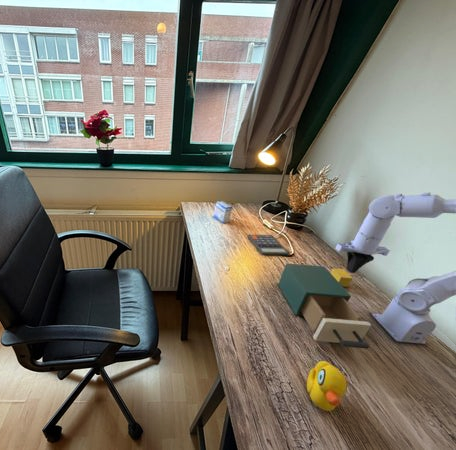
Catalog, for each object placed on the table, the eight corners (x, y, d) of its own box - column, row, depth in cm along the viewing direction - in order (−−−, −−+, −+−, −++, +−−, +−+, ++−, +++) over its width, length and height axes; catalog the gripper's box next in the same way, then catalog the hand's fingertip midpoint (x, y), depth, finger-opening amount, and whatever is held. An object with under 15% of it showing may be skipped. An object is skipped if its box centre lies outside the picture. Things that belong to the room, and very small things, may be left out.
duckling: (335, 434, 47) (358, 406, 43) (304, 418, 49) (322, 390, 45) (330, 382, 56) (349, 354, 52) (304, 370, 58) (319, 342, 54)
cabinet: (338, 318, 73) (351, 296, 69) (295, 315, 73) (306, 292, 69) (314, 287, 85) (324, 266, 81) (278, 284, 85) (286, 263, 81)
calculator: (272, 234, 115) (289, 253, 102) (271, 236, 115) (288, 254, 102) (248, 234, 114) (262, 252, 101) (247, 235, 114) (261, 254, 101)
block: (348, 286, 86) (352, 278, 85) (336, 286, 87) (341, 277, 85) (339, 277, 91) (343, 269, 89) (328, 276, 91) (332, 268, 89)
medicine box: (213, 216, 131) (216, 201, 127) (219, 215, 133) (223, 200, 129) (222, 223, 125) (226, 207, 121) (229, 221, 127) (233, 206, 123)
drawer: (370, 360, 61) (385, 341, 57) (324, 356, 61) (336, 337, 57) (331, 308, 76) (340, 290, 72) (293, 305, 76) (301, 287, 72)
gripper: (384, 229, 76) (364, 264, 82) (337, 226, 76) (320, 261, 82) (403, 241, 69) (380, 278, 76) (352, 238, 70) (333, 275, 76)
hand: (350, 270), depth 79 cm, fingers closed
